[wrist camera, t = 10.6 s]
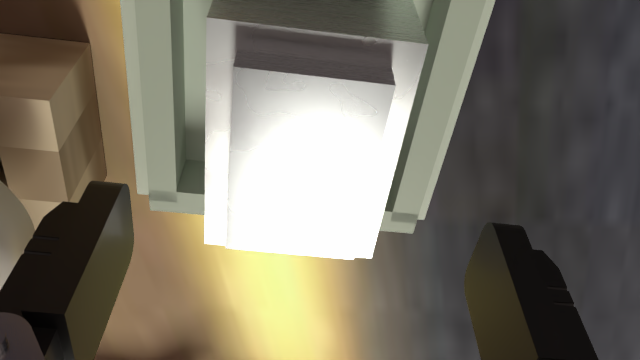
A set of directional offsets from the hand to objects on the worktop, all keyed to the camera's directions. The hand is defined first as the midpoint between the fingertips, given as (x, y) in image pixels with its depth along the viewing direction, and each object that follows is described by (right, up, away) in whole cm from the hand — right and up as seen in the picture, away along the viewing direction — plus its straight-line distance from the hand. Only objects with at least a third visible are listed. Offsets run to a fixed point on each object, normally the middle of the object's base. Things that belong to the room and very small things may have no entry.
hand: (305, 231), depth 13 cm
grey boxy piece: (0, +6, +7) cm, 9 cm away
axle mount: (-11, +4, +9) cm, 15 cm away
